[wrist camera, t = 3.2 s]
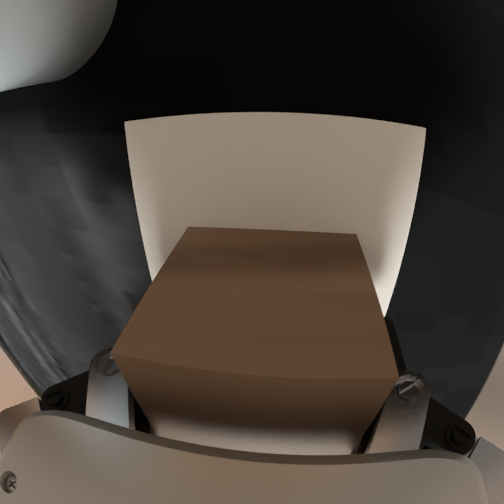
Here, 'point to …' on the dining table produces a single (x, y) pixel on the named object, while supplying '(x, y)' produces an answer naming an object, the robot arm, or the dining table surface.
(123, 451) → the robot arm
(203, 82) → the dining table surface
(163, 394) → the walnut block
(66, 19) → the grey rounded cylinder
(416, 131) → the letter
